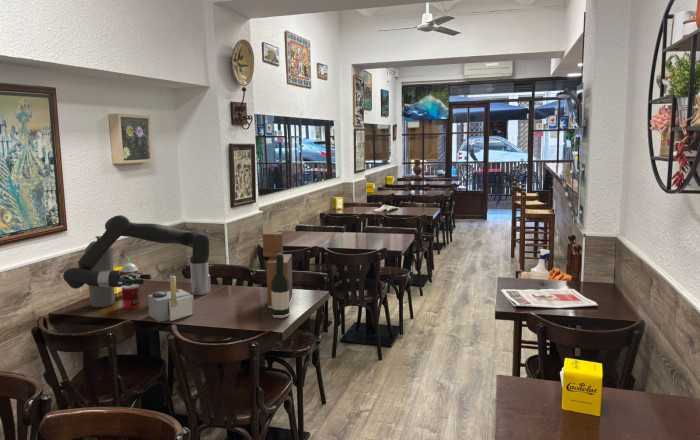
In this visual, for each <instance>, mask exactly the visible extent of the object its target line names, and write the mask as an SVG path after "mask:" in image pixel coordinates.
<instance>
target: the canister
mask: <svg viewBox="0 0 700 440" xmlns="http://www.w3.org/2000/svg"><path fill="white" fill-rule="evenodd" d="M101 236H102V235H96V236H95V238H96V240H94V241H91V242H90V243H89V244H88V246H86V247H85V250H84V253H85V252H86V251H87V250H88V249H89V248H90V247H91V246H92V245H93V244H94V243H95V242H96V241H97V240H98V239H99V238H100V237H101ZM106 270H113V271H115V268H114V248H113V245H111V247H110V248H109V249H108V250H107V251H106V253H105V254H104V255H103V257H102V258H101V259H100V260H99V262H98V263H97V264H96V265H95V267H94V268H93V269H92V271H106ZM88 290H89V291H88V292H89V299H90V300H89V302H90V306H91V307H93V308H104V307H105V308H106V307H111V306H112V305H114V304H115V299H116V297H115V287H101V286H89V285H88Z"/></svg>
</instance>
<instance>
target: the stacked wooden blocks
mask: <svg viewBox="0 0 700 440" xmlns="http://www.w3.org/2000/svg"><path fill="white" fill-rule="evenodd" d="M283 233H284V232H283V231H281V232H278V231H277V232H275V231H274V232H271V231H270V232H269V231H268V232H267V231H265V232H263V233H262V256H263V257H269V259H268V260H267V261H265V262H264V272H265V273H266V286H267V287H266V289H267V292H266V293H267V294H266V295H267V297H266V298H267V300H266V301H267V306H272V297H271V282H272V280H273V278H274V277H275V275H276V256H277V254H278V253H282V255H283V257H284V274H285V276H286V277H287V279H288V280H289V302H290V300H291V297H292V295H293V255H292V253H290V254H289V253H287V254H286V253H285V254H284V234H283ZM292 298H293V297H292ZM291 301H292V300H291ZM290 303H291V302H290Z"/></svg>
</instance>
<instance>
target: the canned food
mask: <svg viewBox="0 0 700 440" xmlns="http://www.w3.org/2000/svg"><path fill="white" fill-rule="evenodd" d="M121 293H122V294H121V295H122V307H123V309H124V310H137V309H139V308H140V307H141V301H140V284H135V285H132V286H122V287H121Z"/></svg>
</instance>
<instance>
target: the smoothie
mask: <svg viewBox="0 0 700 440" xmlns="http://www.w3.org/2000/svg"><path fill="white" fill-rule="evenodd" d="M127 259H128V263H125V264H124V265H122V268H121V270H120V271H123V273H124V274H125V275H127V274H129V273H139V272H138V270H139V268H138V267H137V265H136V264H135V263H131V260H130V257H128V258H127Z"/></svg>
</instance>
